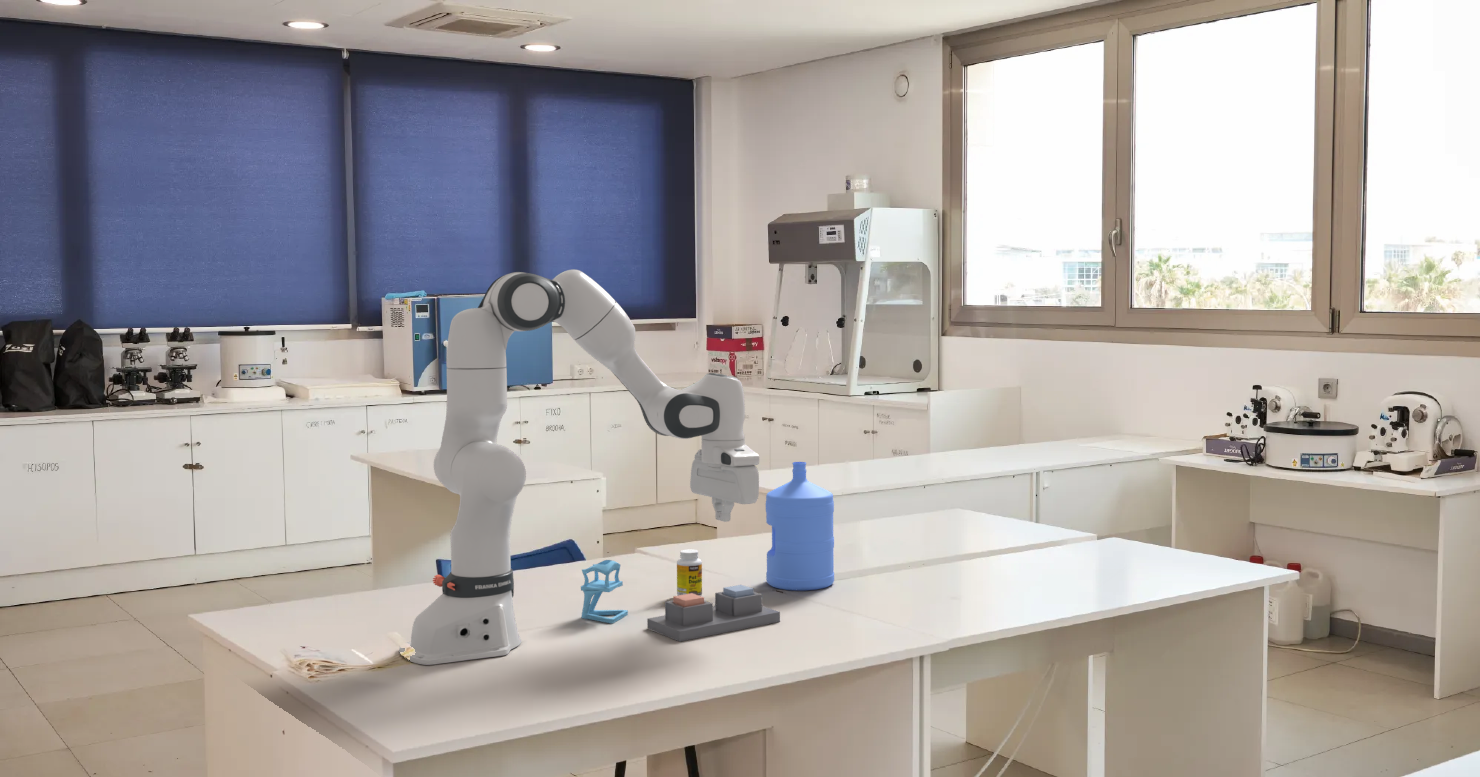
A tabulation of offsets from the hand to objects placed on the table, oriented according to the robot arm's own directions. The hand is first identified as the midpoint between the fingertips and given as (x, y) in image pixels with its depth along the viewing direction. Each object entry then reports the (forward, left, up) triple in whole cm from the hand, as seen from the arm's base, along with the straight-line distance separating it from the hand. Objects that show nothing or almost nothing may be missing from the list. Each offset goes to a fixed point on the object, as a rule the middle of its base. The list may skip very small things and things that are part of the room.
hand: (722, 520), depth 248 cm
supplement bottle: (+5, +20, -21) cm, 29 cm away
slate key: (+2, -3, -17) cm, 17 cm away
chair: (-19, +16, -21) cm, 32 cm away
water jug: (+32, +15, -21) cm, 40 cm away
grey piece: (-4, -3, -20) cm, 21 cm away
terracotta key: (-10, -3, -17) cm, 20 cm away
